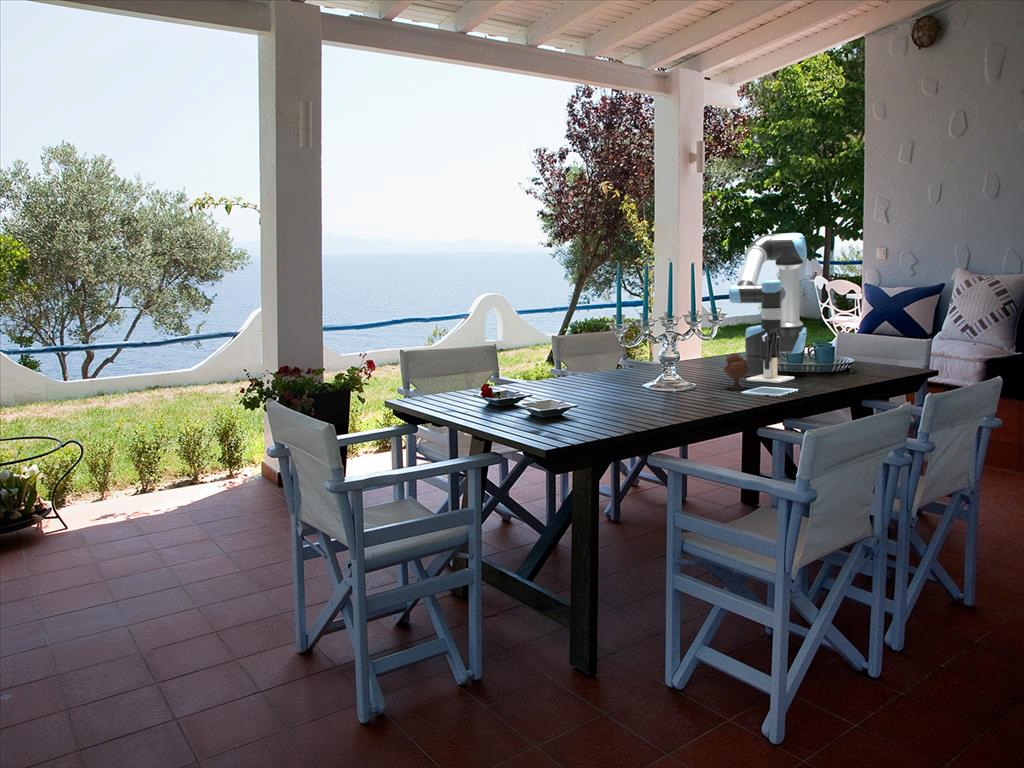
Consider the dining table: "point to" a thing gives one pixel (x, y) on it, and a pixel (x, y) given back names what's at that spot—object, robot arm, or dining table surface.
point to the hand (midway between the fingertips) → (770, 376)
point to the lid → (773, 374)
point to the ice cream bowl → (736, 369)
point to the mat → (770, 391)
